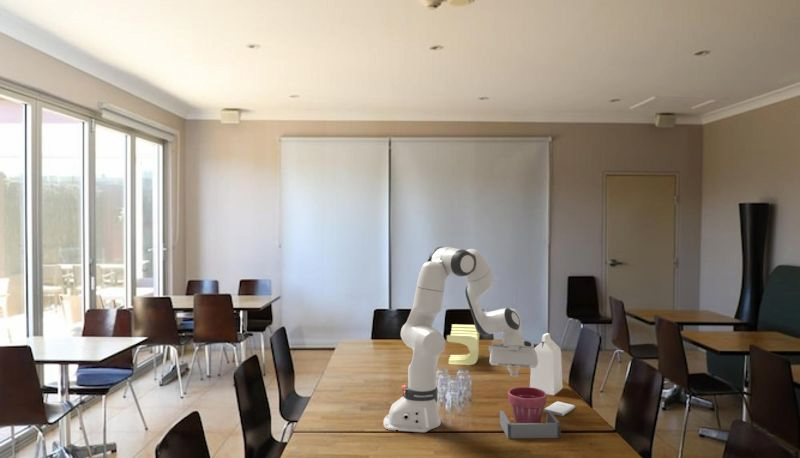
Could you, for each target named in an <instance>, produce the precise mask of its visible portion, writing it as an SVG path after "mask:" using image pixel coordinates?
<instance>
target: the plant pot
mask: <svg viewBox="0 0 800 458" xmlns="http://www.w3.org/2000/svg"><path fill="white" fill-rule="evenodd" d="M507 396H508V397H507V398H508V403H509V404H510V405H511V410H512V414H513V419H514V423H541V420H542V416H543V412H544V409H545V408H544V407H545V406H546V405H547V394H546V393H545V392H544V391H543V390H540V389H537V388H532V387H530V386H518V387H517V386H516V387H512V388H511V389H509V390H508V395H507Z"/></svg>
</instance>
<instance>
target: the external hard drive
mask: <svg viewBox="0 0 800 458" xmlns="http://www.w3.org/2000/svg"><path fill="white" fill-rule="evenodd" d="M574 409H576V406H575V404H570V403H566V402H563V401H555V402H554V403H552V404H550V405H548V406H546V407H545V408H543V412H545V413H546V410H550V411H551V413H552V414H553V415H557V416H559V417H564V416H565V415H566V414H568V413H570V412H571V411H572V410H574Z"/></svg>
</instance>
